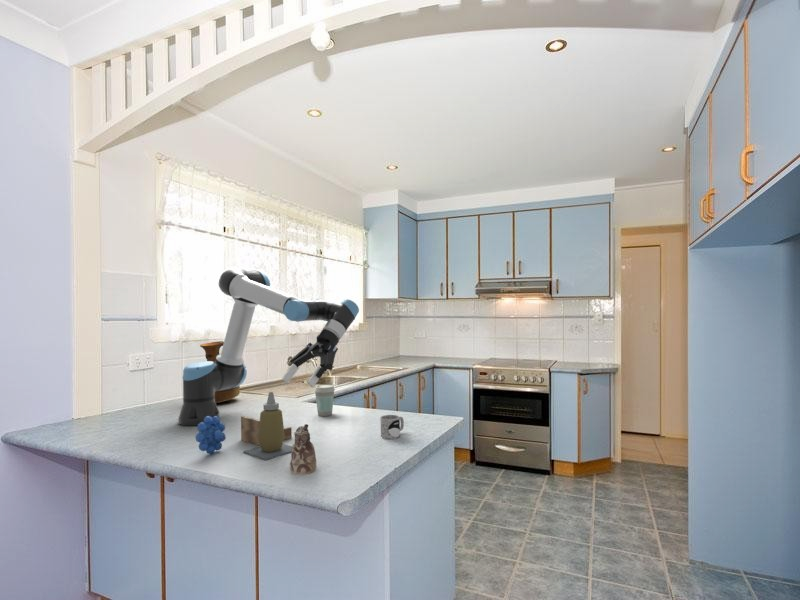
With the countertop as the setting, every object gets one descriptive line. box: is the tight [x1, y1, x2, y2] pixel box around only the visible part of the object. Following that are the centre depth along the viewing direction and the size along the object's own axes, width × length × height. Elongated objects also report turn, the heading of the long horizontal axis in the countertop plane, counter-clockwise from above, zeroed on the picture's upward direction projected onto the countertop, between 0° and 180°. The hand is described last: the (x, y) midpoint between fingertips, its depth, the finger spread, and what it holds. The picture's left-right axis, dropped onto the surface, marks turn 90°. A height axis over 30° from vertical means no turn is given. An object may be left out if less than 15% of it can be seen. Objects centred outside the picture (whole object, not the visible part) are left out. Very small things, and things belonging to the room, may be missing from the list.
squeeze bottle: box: [258, 391, 285, 452], centre depth 137 cm, size 8×8×18 cm
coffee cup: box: [314, 384, 336, 417], centre depth 184 cm, size 8×8×12 cm
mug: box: [380, 414, 405, 440], centre depth 152 cm, size 10×7×7 cm, turn 137°
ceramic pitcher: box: [199, 340, 241, 404], centre depth 215 cm, size 20×20×30 cm
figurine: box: [289, 423, 317, 475], centre depth 121 cm, size 7×7×12 cm
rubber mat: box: [242, 443, 293, 461], centre depth 137 cm, size 12×12×1 cm
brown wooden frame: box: [240, 415, 293, 447], centre depth 151 cm, size 12×12×8 cm
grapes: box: [194, 416, 227, 455], centre depth 135 cm, size 12×7×12 cm, turn 160°
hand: (297, 383), depth 145 cm, fingers open, 13 cm apart
